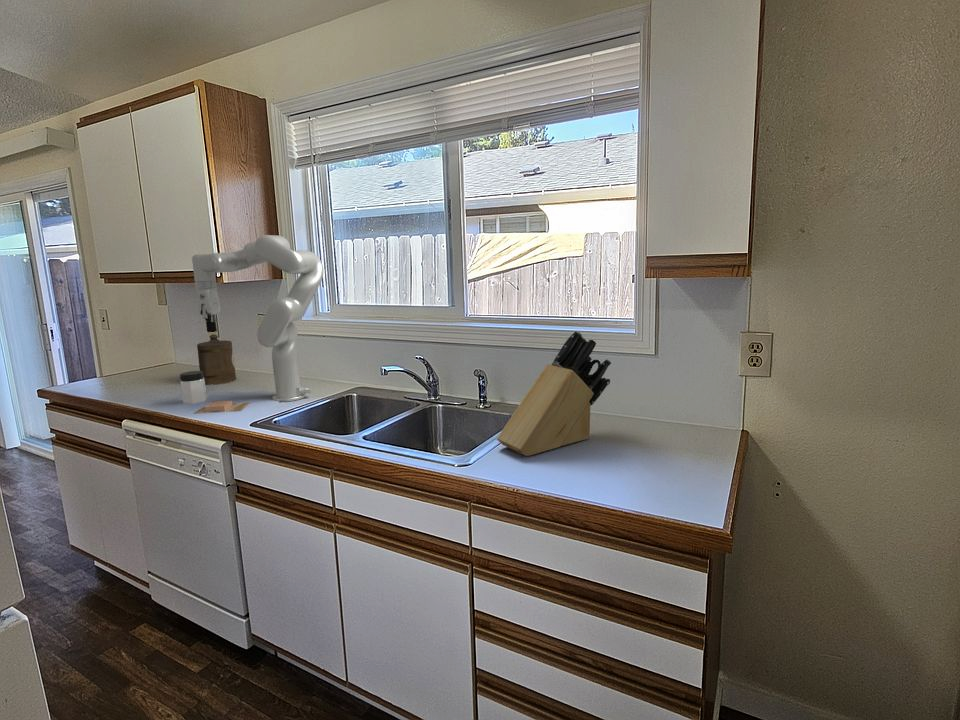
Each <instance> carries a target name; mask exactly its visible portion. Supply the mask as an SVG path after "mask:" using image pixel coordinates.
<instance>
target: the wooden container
mask: <svg viewBox="0 0 960 720" xmlns="http://www.w3.org/2000/svg"><path fill="white" fill-rule="evenodd" d="M218 337H219V336H218V335H217V334H216V333H215V334H211V335H209V341H203V342H200V343H198V344H196V346H197V356H198V367H199V371H202V372H203V377H204V380H205V385H207V384H213V385H221V384H220V383H223V384H228V383H232V382H234V381H236V380H237V375H236V367H235V366H236V364H235V358H234V352H233V342H232V340H219V339H218ZM231 381H232V382H231ZM227 382H228V383H227Z"/></svg>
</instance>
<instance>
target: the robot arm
mask: <svg viewBox="0 0 960 720" xmlns="http://www.w3.org/2000/svg"><path fill="white" fill-rule="evenodd" d="M191 261H192V270H193V276H194V284H195V285H194V286H195V290H196V291H197V305H198V312H199V313H198V314H199V315H201V316H202V319H204V322H205V325H206V326H205V327H206V331H207V333H216V332H218V329H217V322H216V321H217V318H216V317H217V316H218V314H220V313H221V311H222V310H221V309H222V308H221V304H220V298H219V294H218V290H217V289H218V286H217V280H216V273H218V274H220V273H222V274H223V273H233V272H234V273H235V272H238V271H242V270H246V269H249V268H251V267H255V266H257V265H260V264H264V263H267V262H268V263H269V264H271V265H273V266H274V267H276V268H278V269H279V270H281V271H283V272H284V273H287V274H289V275H299V276H298V278H297V279H296V280H295V282H294V283H293V284H292V286H291V289H290V290H289V292H288V294H287V295H286V296H285V297H280V298H276V299H275V300H273V301H272V302H271V303H270V305H269V306H268V308H267V310H266V312H265V313H264V316H263V317H262V319H261V321H260V323H259V324H258V325H259V326H258V328H257V331H256V332H257V333H256V336H257V337H256V338H257V340H258V343H259V344H260V345H262V346H263V347H265V348H272V349H271V350H272V352H271V359H272V367H273V378H274V387H275V394H274V395H273V396H272V400H273V401H278V402H279V403H281V402H282V403H283V402H292V401H299V400H302V399H304V398H306V394H312V393H313V392H312V391H313V389H312V388H311V387H303V384H301V378H300V377H301V376H300V368H299V354H298V335H299V333H298V328H297V326H296V324H295V323H294V322H297V321H299V320H301V319H302V318H303V317H304V316H305V315H306V313H307V310H308V308H309V306H310V304H311V302H312V300H313V299H314V296H315V294H316V292H317V290H318V289H319V286H320V285H321V283H322V280H323V277H324V266H323V263H322V261H321V259H320V258H319V256H318V255H317V254H316V253H315V252H312V251H310V250H292V249H291V244H290V242H289V241H288V239H287V238H286V237H284V236H282V235H275V234H274V235H273V234H272V235H271V234H264V235H261V236H259V237H258V238H257V239H256V240H254V241H251V242H247V243H246V244H245V245H244V247H243V248H242V249H240V250H236V251H233V252H215V253H208V254H207V253H205V254H204V253H202V254H201V253H200V254H198V253H197V254H193V256H192V257H191Z"/></svg>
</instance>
